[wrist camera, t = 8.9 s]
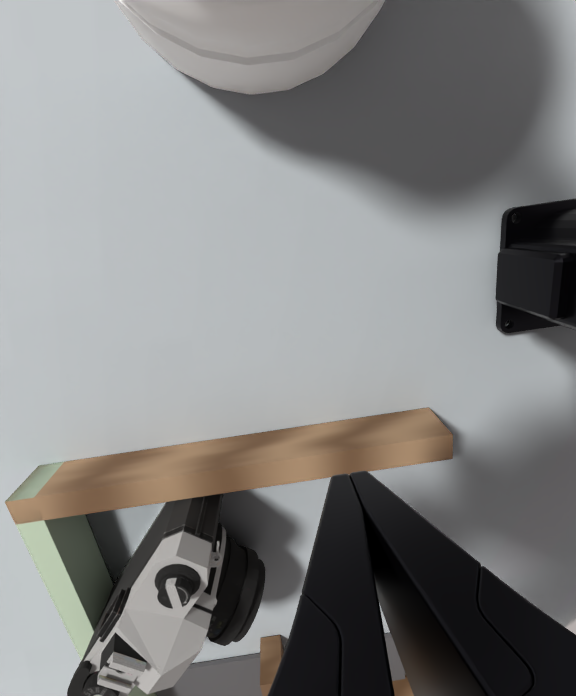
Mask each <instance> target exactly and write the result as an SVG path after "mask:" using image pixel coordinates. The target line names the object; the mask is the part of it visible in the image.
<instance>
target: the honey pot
mask: <svg viewBox="0 0 576 696" xmlns="http://www.w3.org/2000/svg"><path fill="white" fill-rule="evenodd" d="M114 2H115V3H116V4H117V6H118V7H119V8H120V10H121V11H122V13H123V14H124V15H125V17H126V18H127V19H128V21H129V22H130V24H131V25H132V26H133V28H134V29H135V30H136V32H137V33H138V35H139V36H140V37H141V39H142V40H143V41H144V42H145V43H146V44H148V45H149V46H150V47H151V48H152V49H153V50H155V51H156V52H157V53H158V54H159V55H160V56H161V57H163V58H164V59H165V60H166V61H167V62H168V63H169V64H171V65H172V66H173V67H174V68H175V69H176V70H178V71H180V72H182V73H184V74H186V75H188V76H190V77H192V78H194V79H196V80H198V81H200V82H202V83H204V84H206V85H208V86H210V87H212V88H216V89H222V90H228V91H233V92H239V93H244V94H250V95H253V94H261V93H269V92H277V91H285V90H290V89H292V88H294V87H296V86H298V85H300V84H303V83H305V82H307V81H309V80H311V79H314V78H316V77H318V76H320V75H322V74H324V73H325V72H326V71H327V70H329V69H330V68H331V67H332V66H333V65H334V64H336V63H337V62H338V61H339V60H340V59H341V58H342V57H344V56H345V55H346V54H347V53H348V52H349V51H351V50H352V49H353V48H354V47H355V46H356V44H357V43H358V41H359V40H360V38H361V37H362V36H363V34H364V33H365V31H366V30H367V28H368V27H369V25H370V24H371V23H372V21H373V20H374V18H375V17H376V15H377V14H378V12H379V11H380V9H381V7H382V6H383V4H384V2H385V0H114Z"/></svg>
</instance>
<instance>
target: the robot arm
mask: <svg viewBox="0 0 576 696" xmlns="http://www.w3.org/2000/svg"><path fill="white" fill-rule="evenodd" d="M514 213H515V214H516V220H515V221H514V223H513V222H512V216H513V215H514ZM496 300H497V316H496V326H497V328H498V329H499V330H500V331H503V332H505V333H512V332H519V331H526V330H533V329H539V328H546V327H553V326H560V325H563V326H565V327H568V328H571V329H574V330H576V199H569V200H562V201H555V202H548V203H541V204H534V205H527V206H520V207H513V208H510V209H508V210H506V211H505V213H504V214H503V216H502V224H501V242H500V252H499V254H498V264H497V283H496ZM508 320H509V324H508V325H507V326H506V327H505V323H506V322H507V321H508ZM379 603H380V606H381V608H382V611H383V614H384V616H385V619H386V622H387V625H388V627H389V630H390V633H391V635H392V638H393V641H394V644H395V646H396V649H397V652H398V654H399V657H400V660H401V662H402V665H403V668H404V671H405V673H406V676H407V679H408V681H409V684H410V687H411V689H412V692H413V695H414V696H576V635H575V634H574V633H572V632H571V631H569V630H568V629H566V628H565V627H564V626H562V625H561V624H559V623H558V622H556V621H555V620H554V619H552V618H551V617H549V616H548V615H547V614H545V613H544V612H542V611H541V610H540V609H538V608H537V607H535V606H534V605H533V604H531V603H530V602H529V601H527V600H526V599H525V598H523V597H522V596H521V595H519V594H518V593H517V592H516V591H514V590H513V589H512V588H510V587H509V586H508V585H507V584H505V583H504V582H503V581H501V580H500V579H499V578H498V577H497V576H495V575H494V574H493V573H492V572H490V571H489V570H488V569H487V568H485V567H484V566H482V567H481V564H480V563H479V562H478V561H477V560H475V559H474V558H473V557H472V556H470V555H469V554H468V553H467V552H466V551H464V550H463V549H462V548H461V547H459V546H458V545H457V544H456V543H454V542H453V541H452V540H451V539H450V538H448V537H447V536H446V535H445V534H443V533H442V532H441V531H440V530H438V529H437V528H436V527H435V526H434V525H432V524H431V523H430V522H429V521H427V520H426V519H425V518H424V517H423V516H421V515H420V514H419V513H418V512H416V511H415V510H414V509H413V508H411V507H410V506H409V505H408V504H407V503H405V502H404V501H403V500H402V499H400V498H399V497H398V496H397V495H395V494H394V493H393V492H392V491H391V490H389V489H388V488H387V487H386V486H384V485H383V484H382V483H381V482H380V481H378V480H377V479H376V478H375V477H373V476H372V475H371V474H370V473H368V472H367V471H358V472H352V473H350V475H348V474H346V473H345V474H339V475H333V476H332V477H331V480H330V484H329V488H328V491H327V495H326V499H325V503H324V507H323V511H322V515H321V519H320V523H319V527H318V531H317V534H316V538H315V542H314V546H313V550H312V554H311V558H310V562H309V566H308V570H307V573H306V577H305V581H304V585H303V589H302V595H301V596H300V600H299V604H298V608H297V612H296V615H295V619H294V622H293V625H292V629H291V632H290V636H289V639H288V642H287V645H286V648H285V650H284V653H283V656H282V659H281V662H280V664H279V667H278V670H277V673H276V675H275V678H274V680H273V683H272V685H271V688H270V690H269V693H268V695H267V696H395V694H394V688H393V682H392V676H391V670H390V665H389V659H388V653H387V647H386V641H385V635H384V629H383V624H382V618H381V612H380V606H379Z"/></svg>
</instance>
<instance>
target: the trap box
mask: <svg viewBox="0 0 576 696" xmlns="http://www.w3.org/2000/svg"><path fill="white" fill-rule="evenodd" d="M452 458H453V434H452V433H451V432H450V431H449V430H448V429H447V428H446V426H445V425H444V424H443V423H442V422H441V421H440V420H439V419H438V417H437V416H436V415H435V414H434V413H433V412H432V411H431V410H430V408H422V409H415V410H409V411H402V412H395V413H389V414H382V415H375V416H368V417H362V418H355V419H348V420H342V421H335V422H328V423H321V424H315V425H308V426H301V427H295V428H288V429H281V430H275V431H268V432H261V433H254V434H248V435H241V436H234V437H228V438H221V439H214V440H207V441H201V442H194V443H187V444H181V445H174V446H167V447H161V448H154V449H147V450H140V451H134V452H127V453H120V454H114V455H107V456H100V457H94V458H87V459H80V460H73V461H67V462H64V463H63V464H62V465H61V466H60V467H59V468H58V470H57V471H56V472H55V473H54V474H53V476H52V477H51V478H50V479H49V480H48V481H47V483H46V484H45V485H44V486H43V487H42V489H41V490H40V491H39V492H38V493H37V494H36V496H35V497H34V498H28V499H21V500H15V501H12V499H10V500H11V501H10V500H9V499H7V500H9V501H7V500H6V501H7V502H5V503H6V505H7V508H8V510H9V512H10V514H11V516H12V518H13V517H14V518H13V520H14V522H15V524H20V523H22V524H23V523H26V522H27V523H30V522H36V521H43V520H49V519H56V518H63V517H69V516H76V515H83V514H89V513H96V512H103V511H109V510H116V509H122V508H129V507H136V506H142V505H149V504H156V503H162V502H169V501H175V500H182V499H189V498H195V497H202V496H209V495H215V494H222V493H229V492H235V491H242V490H248V489H255V488H262V487H268V486H275V485H282V484H288V483H295V482H301V481H308V480H315V479H321V478H328V477H332V476H333V475H339V474H345V473H346V474H350V473H352V472H358V471H367V472H368V471H374V470H381V469H388V468H394V467H401V466H407V465H414V464H421V463H427V462H434V461H441V460H447V459H452ZM47 465H48V464H47ZM41 466H43V465H41ZM38 467H39V466H38ZM38 467H37V468H38ZM44 467H45V468H46V466H44ZM37 468H36V470H34V471H37ZM40 468H41V467H40ZM42 468H43V467H42ZM46 470H47V469H46ZM51 470H52V469H51ZM34 471H33V472H34ZM42 471H43V470H42ZM33 472H32V473H33ZM38 472H39V470H38ZM34 473H35V472H34ZM29 477H30V479H31V475H30V476H29ZM32 477H33V476H32ZM28 479H29V478H28ZM28 479H27V481H29V480H28ZM35 479H36V478H35ZM35 479H34V480H35ZM25 481H26V480H25ZM27 481H26V482H27ZM24 483H25V482H24ZM24 483H22V484H21V485H22V486H21V485H20V486H21V487H22V488H23V484H24ZM27 483H28V482H27ZM27 483H26V484H25V485H27ZM32 485H33V483H32ZM26 487H27V486H26ZM28 488H29V487H28ZM18 489H19V487H18ZM21 490H22V489H21ZM16 491H17V490H16ZM22 491H23V490H22ZM18 492H19V491H18ZM16 493H17V492H16ZM16 493H15V492H14V494H16ZM24 493H25V492H24ZM14 494H13V495H14ZM18 495H19V494H18ZM20 495H21V494H20ZM14 496H15V495H14ZM14 496H13V497H14ZM16 496H17V495H16ZM11 498H12V496H11ZM14 498H15V497H14ZM16 498H17V497H16ZM37 508H38V509H37ZM31 509H32V510H31ZM38 510H39V511H38ZM25 511H26V512H25ZM27 511H28V512H27ZM16 512H17V513H16ZM37 513H38V514H37ZM32 514H33V515H32ZM25 515H26V516H25ZM40 515H41V516H40ZM29 516H30V517H29ZM33 516H34V518H33ZM35 517H37V518H38V520H36V519H37V518H36V519H35ZM31 518H32V519H31ZM42 518H43V519H42ZM23 519H24V520H23ZM31 520H32V521H31ZM19 522H20V523H19ZM283 653H284V651H283V646H282V641H281V636H280V635H277V636H270V637H264V638H261V643H260V688H261V692H262V696H267V695H268V693H269V690H270V688H271V685H272V683H273V680H274V678H275V675H276V673H277V670H278V667H279V664H280V662H281V659H282V656H283ZM392 682H393V688H394V694H395V696H414V695H413V692H412V689H411V687H410V684H409V681H408V679H407V676H405V679H401V680H395V681H392Z"/></svg>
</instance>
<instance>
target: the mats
mask: <svg viewBox="0 0 576 696" xmlns="http://www.w3.org/2000/svg"><path fill="white" fill-rule="evenodd" d="M384 635H385V641H386V647H387V653H388V659H389V665H390V670H391V676H392V681H395V680H401V679H405V671H404V668H403V665H402V662H401V660H400V657H399V654H398V652H397V649H396V646H395V644H394V641H393V638H392V635H391V633H386V634H384ZM156 694H157V696H262V692H261V688H260V653H258V654H252V655H245V656H239V657H232V658H226V659H220V660H213V661H207V662H200V663H194V664H190V665H189V667H188V668H187V669H186V671H185V672H184V673H183V674H182V676H181V677H180V678H179V680H178V681H177V682H176V684H175V685H174V686H173V687H171V688H167V689H164V690H161V691H157V692H156Z"/></svg>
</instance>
